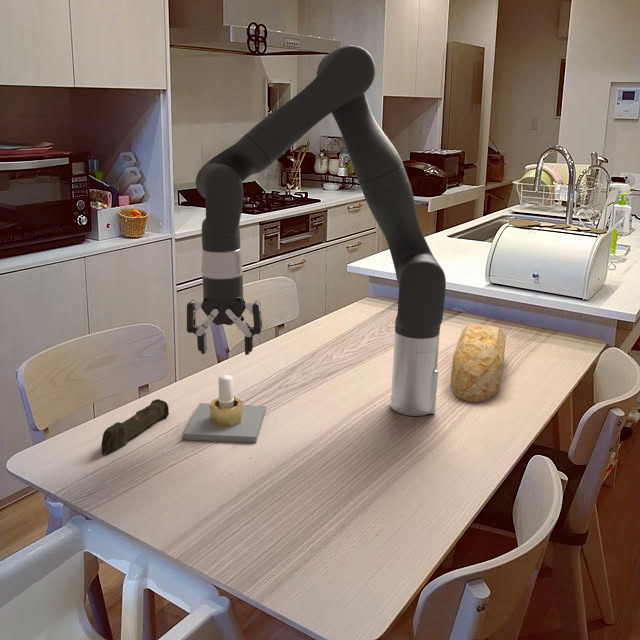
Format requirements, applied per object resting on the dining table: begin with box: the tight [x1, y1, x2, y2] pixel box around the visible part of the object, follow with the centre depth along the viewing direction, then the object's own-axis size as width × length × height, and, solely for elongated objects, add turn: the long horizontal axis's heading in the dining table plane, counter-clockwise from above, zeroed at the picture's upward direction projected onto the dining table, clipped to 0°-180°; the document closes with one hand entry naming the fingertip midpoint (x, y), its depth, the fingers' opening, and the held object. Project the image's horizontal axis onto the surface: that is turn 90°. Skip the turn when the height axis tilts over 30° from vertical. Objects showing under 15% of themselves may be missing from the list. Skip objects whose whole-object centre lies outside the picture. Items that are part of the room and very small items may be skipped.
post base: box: [183, 374, 267, 443], centre depth 141 cm, size 14×14×10 cm
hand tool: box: [101, 398, 170, 456], centre depth 137 cm, size 19×4×5 cm, turn 156°
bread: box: [450, 323, 507, 403], centre depth 171 cm, size 36×11×10 cm, turn 163°
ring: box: [209, 396, 244, 426], centre depth 142 cm, size 6×6×4 cm
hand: (225, 353), depth 138 cm, fingers open, 8 cm apart
